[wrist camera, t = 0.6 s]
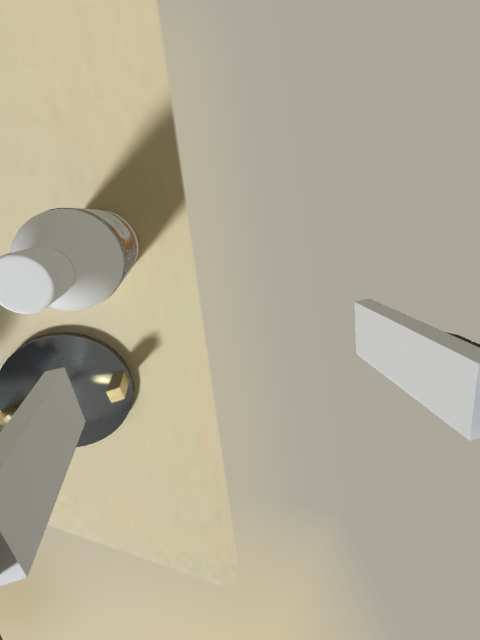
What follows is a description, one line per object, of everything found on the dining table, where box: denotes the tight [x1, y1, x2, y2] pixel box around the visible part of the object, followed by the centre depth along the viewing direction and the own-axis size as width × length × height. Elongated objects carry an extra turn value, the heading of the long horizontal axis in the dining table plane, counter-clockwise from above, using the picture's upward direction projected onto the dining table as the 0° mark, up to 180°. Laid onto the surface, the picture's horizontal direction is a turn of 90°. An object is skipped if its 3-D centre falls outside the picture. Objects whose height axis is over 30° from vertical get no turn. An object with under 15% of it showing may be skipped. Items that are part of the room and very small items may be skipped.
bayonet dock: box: [0, 333, 133, 447], centre depth 35 cm, size 14×14×5 cm
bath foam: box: [0, 208, 139, 314], centre depth 25 cm, size 7×7×20 cm
